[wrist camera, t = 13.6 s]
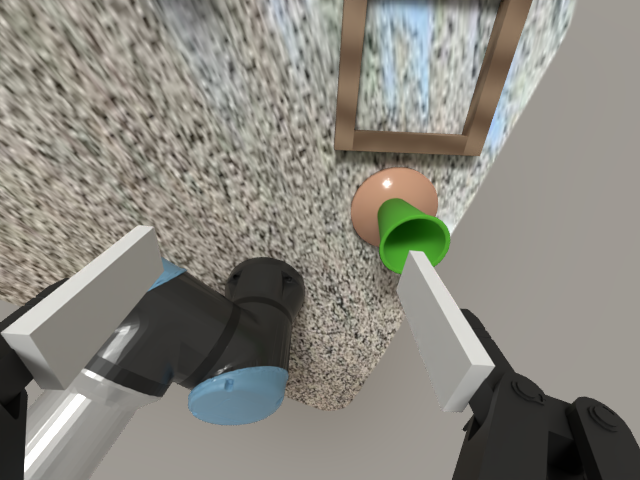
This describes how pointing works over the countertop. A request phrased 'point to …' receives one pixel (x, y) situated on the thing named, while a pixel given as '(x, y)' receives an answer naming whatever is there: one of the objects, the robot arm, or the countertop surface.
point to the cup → (409, 234)
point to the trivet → (387, 187)
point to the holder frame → (469, 143)
